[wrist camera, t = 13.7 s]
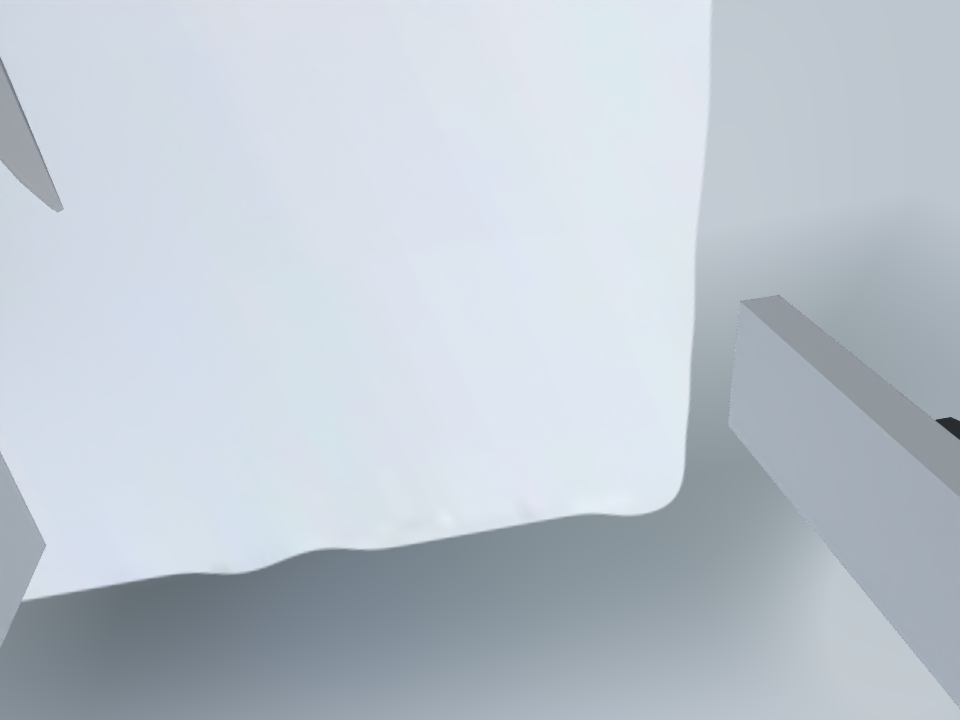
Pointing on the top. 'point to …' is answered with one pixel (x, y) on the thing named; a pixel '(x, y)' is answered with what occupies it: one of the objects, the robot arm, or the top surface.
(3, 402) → the top surface
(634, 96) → the top surface
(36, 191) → the chef's knife
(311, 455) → the top surface
